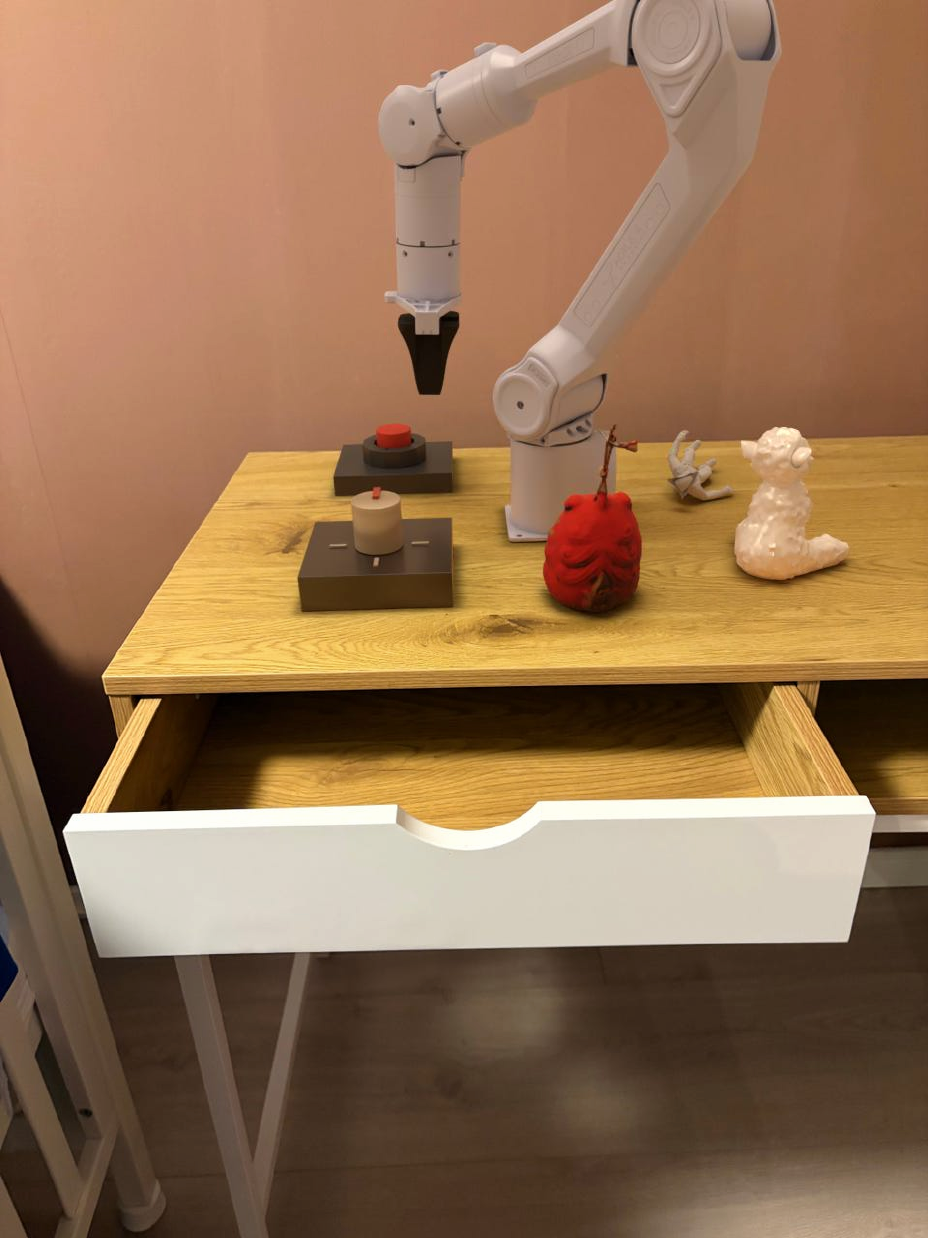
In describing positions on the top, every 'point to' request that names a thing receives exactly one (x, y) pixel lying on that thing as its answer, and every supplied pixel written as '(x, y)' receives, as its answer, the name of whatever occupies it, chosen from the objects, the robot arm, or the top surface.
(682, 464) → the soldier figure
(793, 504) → the sitting furry creature
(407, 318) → the robot arm
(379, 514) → the dial knob
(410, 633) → the top surface
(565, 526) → the red clay folk toy
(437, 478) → the button box
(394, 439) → the button
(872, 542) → the top surface
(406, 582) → the dial panel
